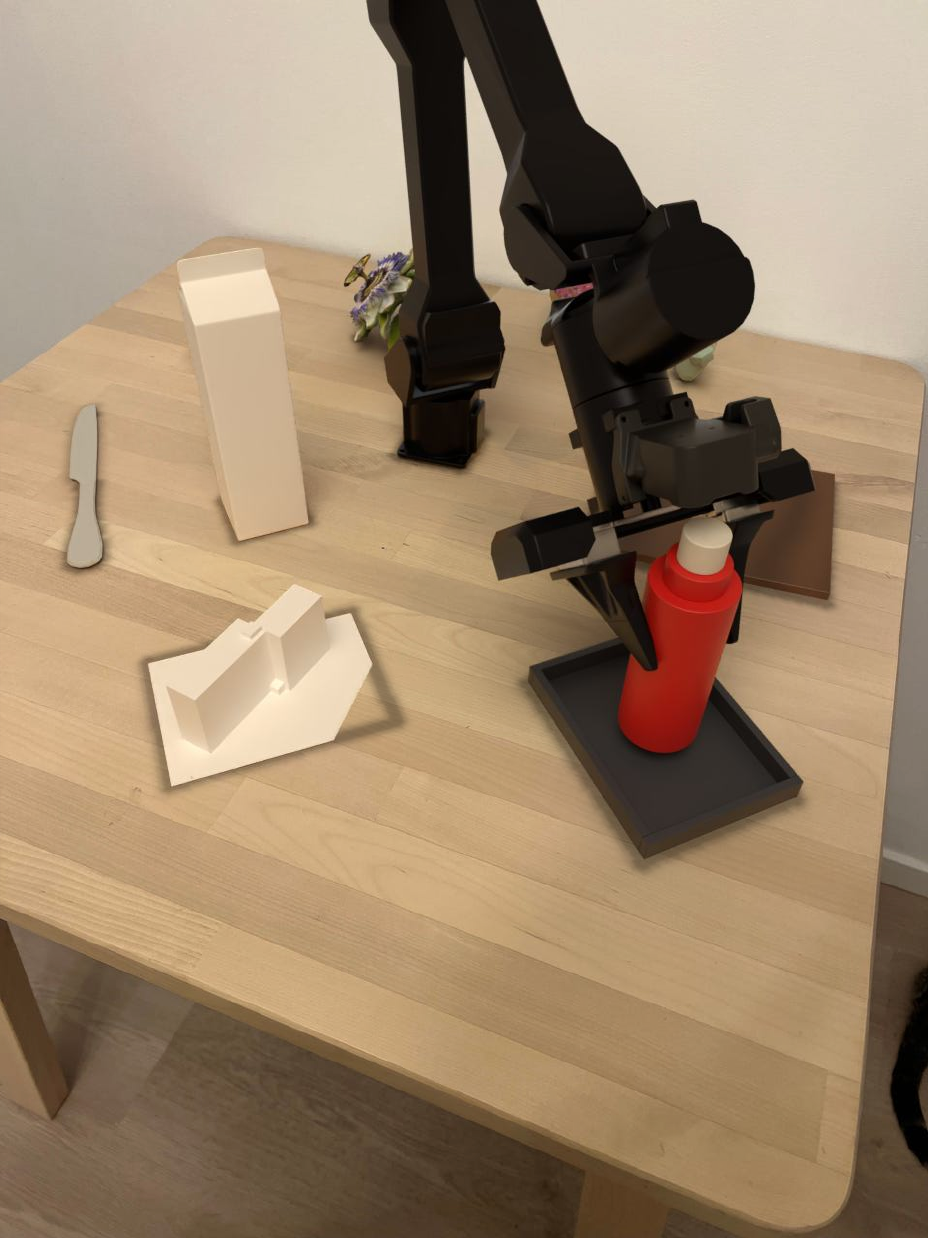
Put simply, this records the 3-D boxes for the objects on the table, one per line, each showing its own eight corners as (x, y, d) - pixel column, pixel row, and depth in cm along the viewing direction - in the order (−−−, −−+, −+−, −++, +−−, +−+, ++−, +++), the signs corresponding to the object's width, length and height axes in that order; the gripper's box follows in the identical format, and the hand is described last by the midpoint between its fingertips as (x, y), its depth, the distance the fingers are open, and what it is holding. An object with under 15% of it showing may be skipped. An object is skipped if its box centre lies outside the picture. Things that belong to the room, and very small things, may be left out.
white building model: (172, 789, 58) (151, 731, 54) (145, 664, 66) (126, 605, 62) (399, 721, 62) (395, 663, 58) (350, 611, 70) (344, 553, 66)
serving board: (581, 554, 75) (583, 542, 74) (618, 446, 86) (619, 435, 85) (825, 604, 71) (830, 593, 70) (831, 484, 82) (835, 473, 81)
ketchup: (610, 741, 59) (651, 551, 48) (625, 682, 63) (666, 492, 52) (692, 762, 58) (753, 573, 47) (702, 701, 62) (761, 511, 50)
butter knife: (61, 567, 72) (101, 561, 73) (73, 404, 89) (105, 400, 89) (63, 571, 72) (102, 565, 73) (74, 408, 89) (106, 404, 89)
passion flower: (368, 384, 103) (340, 273, 101) (464, 361, 103) (438, 249, 101) (360, 376, 92) (329, 251, 90) (467, 350, 92) (439, 225, 90)
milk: (309, 524, 77) (277, 265, 62) (237, 542, 75) (185, 280, 60) (289, 483, 81) (253, 229, 66) (219, 499, 79) (166, 242, 64)
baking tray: (527, 685, 65) (529, 665, 64) (664, 640, 68) (668, 620, 67) (642, 863, 55) (647, 845, 54) (795, 800, 58) (804, 781, 57)
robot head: (652, 362, 97) (662, 300, 92) (688, 357, 98) (700, 295, 93) (685, 402, 91) (698, 338, 87) (723, 396, 92) (738, 333, 87)
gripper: (526, 391, 43) (615, 714, 44) (846, 318, 49) (920, 606, 49) (456, 443, 54) (529, 702, 54) (725, 378, 59) (788, 615, 60)
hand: (691, 656), depth 54 cm, fingers closed on ketchup, 5 cm apart
